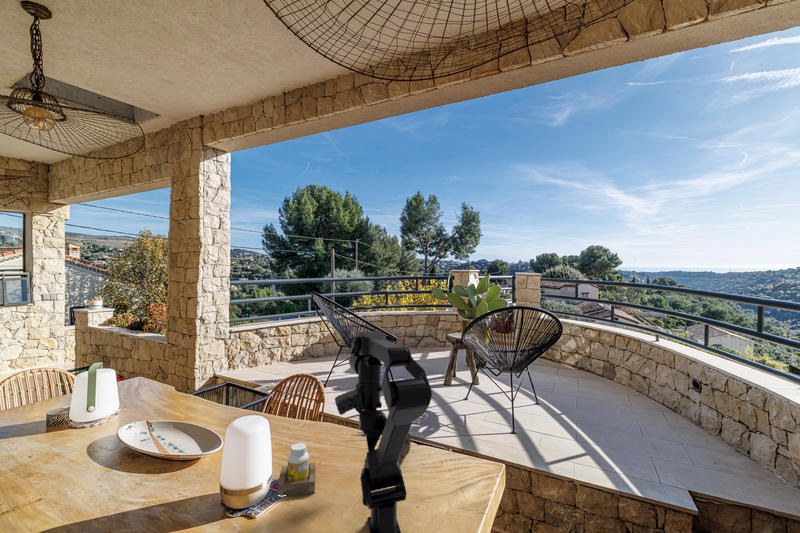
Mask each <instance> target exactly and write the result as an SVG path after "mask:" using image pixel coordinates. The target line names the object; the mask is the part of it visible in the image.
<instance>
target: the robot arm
mask: <svg viewBox="0 0 800 533" xmlns="http://www.w3.org/2000/svg"><path fill="white" fill-rule="evenodd" d="M349 354H350V357H349V359H348V365H349V367H350V368H351V369H352V370H353V372H355V373H356V374H357V375H358V378H357V382H356V384H355V389H352V390H350V391H349V390H348V391H346V392H343V393H342V394H339V395H338V396H336V397H334V401H335V405H336V406H335V407H336V409H337V411H338V413H339V415H345V414H346V413H347V412H349V411H352V410H353V409H355V411H356V412H357V413H358V414H359V415H358V425H359V426H358V427H359V429H360V431H362V432H363V435H364V436H365V439H366V444H367V445H366V446H367V452H366V455H365V459H364V465H363V468H362V469H361V473H360V478H359V479H360V486H361V492H362V493H361V494H362V500H361V501H362V505H363V506H366V507H367V508H368V510H370V516H368V517H367V519H366V520H367V527H368V531H369V533H402V531H401V528H400V525H399V522H398V516H397V513H398V512H397V511H398V509H397V508H398V502H403V501H406V499H407V494H408V493H407V490H406V486H405V481H404V477H403V473H402V469H401V465H399V463H398V460H399V457H400V454H401V451H402V449H403V446H404V443H405V441H406V438H407V435H408V433H409V432H410V429H411V426H412V424H413V422H415V421H417V419H419V418H421V417H422V416H424V414H425V413H426V411H427V409H428V408H429V406H430V404H431V401H432V398H433V397H432V396H433V392H432V389H431V385H430V383H429V379H428V376H427V374H426V371H425V369H424V368H423V367H422V366H421V365H420V364H419V363H418V362H417V361H416V360H415V359H414V358H413V355H412V354H411V351H410V348H409V347H406V346H405V345H402V346H401V345H398V344H397V343H394V342H392V341H390V340H388V339H386V334H385V333H384V332H383V331H381V330H377V331H358V332H357V334H356V336H354V339H353V341H352V343H351V346H350V349H349ZM382 365H383V366H384V370H385V371H384V374H383V376H382V378H381V373H382V372H381V371H382V369H381V368H382ZM397 367H404V369H405V370H406V371H407V372H408V373H409V374H410V375H411V376H412V377H413V378H405V379H396V380H390V377H389V376H390V375H389V372H390V368H397ZM381 392H382V393H383V398H384V402H385V405H386V407H387V411H388V415H387V416H386V414H385V413H384V411H382V410H380V409H381V408H382V401H381ZM379 408H380V409H379ZM379 440H380V441H379ZM378 442H379V444H378ZM377 445H378V447H377V448H376V446H377ZM375 448H376V449H375Z"/></svg>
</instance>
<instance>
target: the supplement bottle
mask: <svg viewBox="0 0 800 533" xmlns="http://www.w3.org/2000/svg"><path fill="white" fill-rule="evenodd" d="M307 451H308V450H307V444H306V443H302V442H298V443H294V444H293V445H291V446H290V454H289V455H288V457H287V466H288V478H287V481H295V480H304V479H309V464H310V456H309V455H310V454H309V452H307Z"/></svg>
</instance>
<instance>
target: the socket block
mask: <svg viewBox="0 0 800 533" xmlns="http://www.w3.org/2000/svg"><path fill="white" fill-rule="evenodd" d="M279 473H280V474H279V478H278V483H277V496H278V495H286V496H287V497H289V498H290V497H296V496H297V497H298V496H305V495H313V494H315V493H316V462H314V463H313V462H312V463H309V479H304V480H295V481H287V478H288V465H282V466H281V469H280V472H279ZM277 496H276V497H277ZM287 497H286V498H287Z"/></svg>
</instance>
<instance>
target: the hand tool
mask: <svg viewBox="0 0 800 533" xmlns="http://www.w3.org/2000/svg"><path fill="white" fill-rule="evenodd" d="M411 437H412V436H411V433H409V432H408V435H407V438H406V441H405V443H404V446H403V449H402V451H401V454H400V457H399V460H398V463H399V465H400V466H401V464H402V462H403V461H404V459H405V457H406V455H407V454H409V453H410V450H411V443H412V442H411V439H412V438H411Z"/></svg>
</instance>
